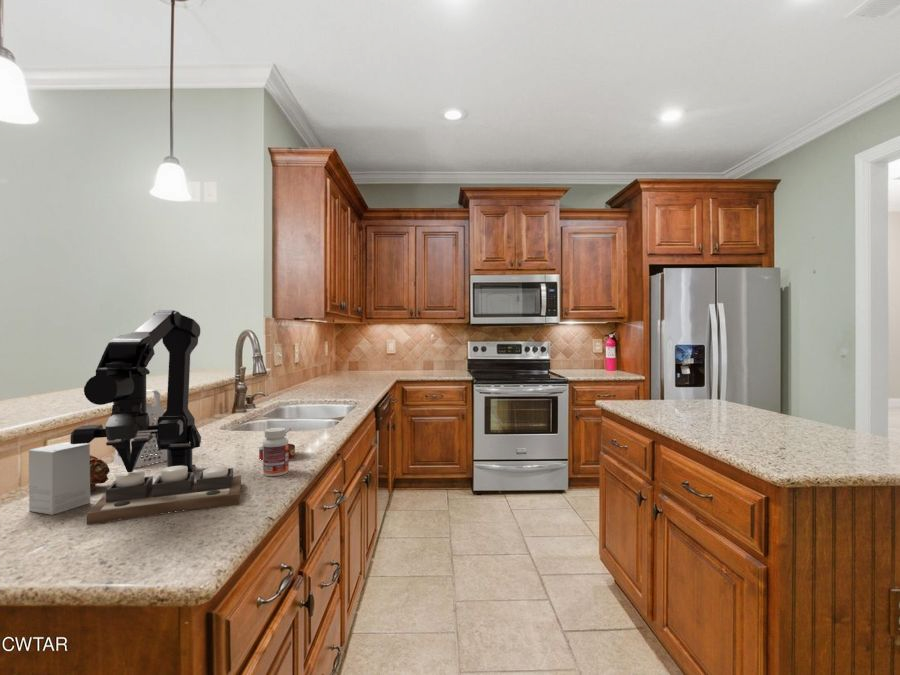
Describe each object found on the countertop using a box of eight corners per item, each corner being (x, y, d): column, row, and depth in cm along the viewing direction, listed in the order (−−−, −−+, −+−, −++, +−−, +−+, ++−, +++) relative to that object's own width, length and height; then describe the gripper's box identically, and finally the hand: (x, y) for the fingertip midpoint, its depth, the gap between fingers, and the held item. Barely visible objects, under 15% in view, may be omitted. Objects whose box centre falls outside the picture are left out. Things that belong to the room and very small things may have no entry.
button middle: (163, 478, 100) (163, 467, 100) (189, 475, 102) (189, 464, 102) (158, 484, 96) (158, 473, 96) (185, 481, 98) (185, 470, 98)
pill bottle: (291, 474, 117) (291, 430, 117) (265, 478, 113) (265, 432, 113) (285, 468, 122) (285, 426, 122) (260, 472, 118) (260, 428, 118)
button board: (108, 499, 99) (108, 479, 99) (240, 484, 109) (240, 465, 109) (86, 524, 86) (86, 500, 86) (238, 503, 96) (238, 482, 96)
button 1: (119, 482, 97) (119, 471, 97) (147, 479, 99) (146, 468, 99) (112, 489, 93) (112, 478, 93) (141, 486, 95) (141, 475, 95)
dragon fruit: (112, 495, 106) (51, 508, 103) (121, 466, 112) (64, 477, 109) (97, 472, 101) (32, 485, 98) (107, 443, 107) (46, 454, 104)
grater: (172, 460, 131) (171, 390, 131) (131, 469, 122) (130, 394, 122) (154, 455, 136) (153, 388, 136) (113, 463, 127) (113, 391, 127)
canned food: (279, 478, 129) (266, 451, 124) (257, 468, 134) (244, 442, 130) (308, 452, 137) (298, 425, 133) (286, 444, 142) (275, 418, 138)
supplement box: (91, 503, 97) (91, 443, 97) (51, 516, 90) (51, 451, 90) (68, 499, 99) (68, 441, 99) (27, 511, 92) (27, 449, 92)
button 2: (204, 478, 104) (204, 468, 104) (228, 476, 106) (228, 465, 106) (201, 485, 99) (201, 474, 99) (227, 482, 101) (227, 471, 101)
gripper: (59, 406, 85) (59, 489, 85) (175, 400, 92) (175, 477, 92) (80, 398, 95) (80, 473, 95) (183, 393, 103) (183, 463, 103)
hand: (130, 472), depth 96 cm, fingers closed
